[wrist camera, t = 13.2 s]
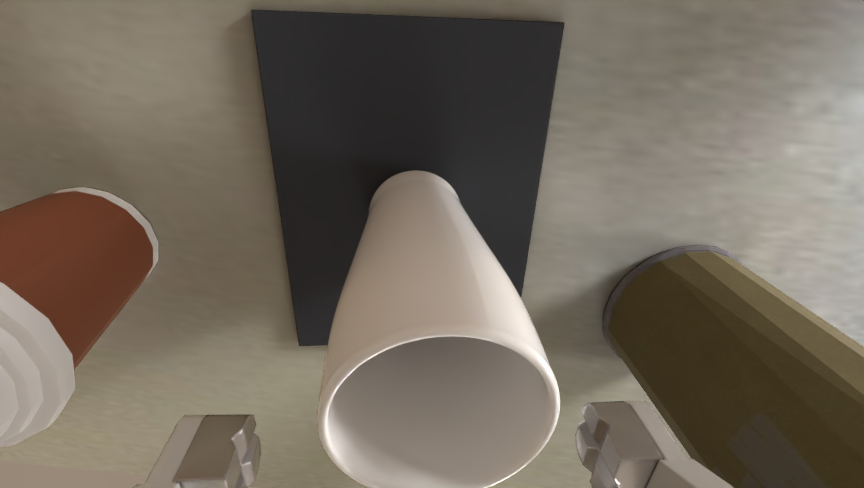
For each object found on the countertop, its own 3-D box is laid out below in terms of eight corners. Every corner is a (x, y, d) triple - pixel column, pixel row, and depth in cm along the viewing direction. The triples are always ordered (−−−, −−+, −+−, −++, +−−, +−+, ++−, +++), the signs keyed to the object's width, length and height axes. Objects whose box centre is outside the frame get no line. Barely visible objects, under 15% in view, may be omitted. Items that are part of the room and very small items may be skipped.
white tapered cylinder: (445, 133, 23) (520, 282, 9) (488, 234, 26) (591, 455, 12) (334, 185, 23) (258, 390, 10) (389, 277, 26) (385, 528, 13)
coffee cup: (119, 139, 22) (-144, 245, 11) (213, 279, 26) (88, 453, 15) (-34, 193, 22) (-425, 343, 12) (82, 321, 26) (-128, 517, 16)
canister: (619, 245, 27) (1045, 647, 9) (767, 241, 28) (1409, 604, 10) (588, 370, 32) (828, 787, 14) (714, 363, 33) (1087, 749, 15)
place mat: (253, 9, 20) (250, 9, 19) (562, 22, 21) (564, 22, 21) (300, 342, 29) (299, 346, 28) (513, 336, 30) (514, 340, 30)
